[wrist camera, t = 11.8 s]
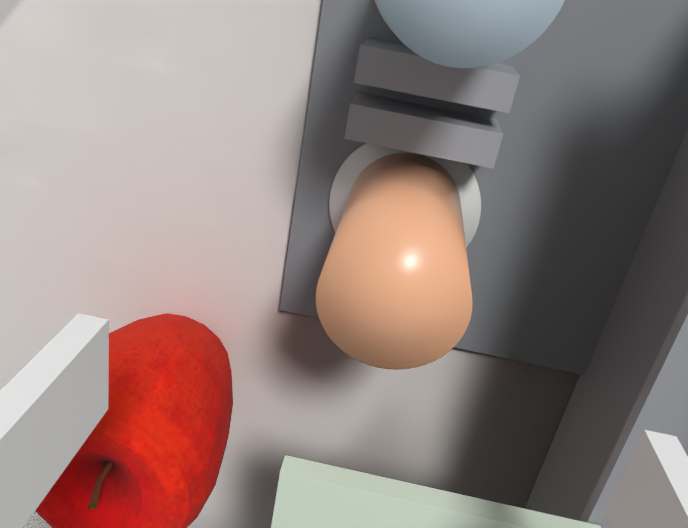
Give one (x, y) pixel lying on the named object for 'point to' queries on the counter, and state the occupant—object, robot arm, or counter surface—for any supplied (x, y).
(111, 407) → the apple
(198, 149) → the counter surface
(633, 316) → the housing
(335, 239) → the peg
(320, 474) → the lid
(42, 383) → the robot arm
